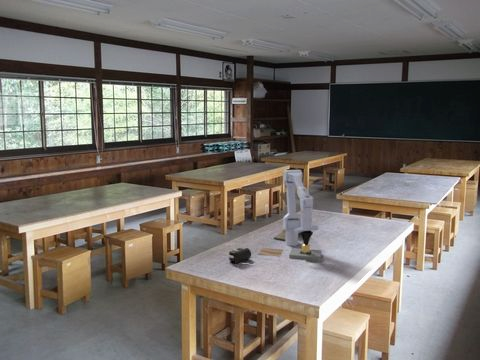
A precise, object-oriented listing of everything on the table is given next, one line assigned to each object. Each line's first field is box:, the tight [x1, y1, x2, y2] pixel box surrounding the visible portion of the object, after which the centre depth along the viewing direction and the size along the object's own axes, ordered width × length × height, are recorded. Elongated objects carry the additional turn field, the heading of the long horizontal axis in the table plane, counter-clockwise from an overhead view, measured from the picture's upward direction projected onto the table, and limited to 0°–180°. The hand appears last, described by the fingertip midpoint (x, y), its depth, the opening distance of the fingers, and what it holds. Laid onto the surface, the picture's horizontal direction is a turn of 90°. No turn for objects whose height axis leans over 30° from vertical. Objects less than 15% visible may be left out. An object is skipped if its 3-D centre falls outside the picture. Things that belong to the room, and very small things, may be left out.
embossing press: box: [273, 191, 301, 242], centre depth 287 cm, size 11×24×30 cm, turn 144°
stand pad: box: [257, 247, 284, 257], centre depth 256 cm, size 12×12×1 cm
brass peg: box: [301, 242, 311, 255], centre depth 250 cm, size 4×4×7 cm
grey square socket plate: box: [288, 247, 322, 263], centre depth 251 cm, size 12×16×2 cm
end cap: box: [228, 247, 252, 265], centre depth 241 cm, size 10×7×7 cm
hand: (305, 244), depth 250 cm, fingers closed
